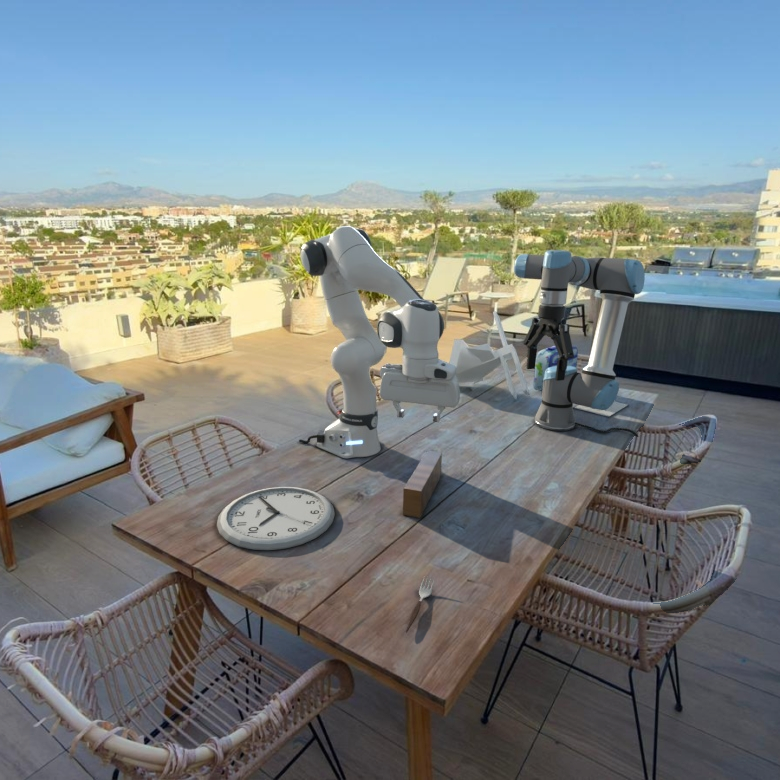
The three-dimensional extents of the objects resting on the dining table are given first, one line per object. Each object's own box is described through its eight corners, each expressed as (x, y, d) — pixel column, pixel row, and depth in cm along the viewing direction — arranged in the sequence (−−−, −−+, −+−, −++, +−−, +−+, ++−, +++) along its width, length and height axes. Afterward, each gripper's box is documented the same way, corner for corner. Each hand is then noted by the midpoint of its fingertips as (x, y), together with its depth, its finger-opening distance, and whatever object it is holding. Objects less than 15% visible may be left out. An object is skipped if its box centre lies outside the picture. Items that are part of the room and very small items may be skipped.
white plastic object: (461, 429, 252) (437, 405, 227) (444, 352, 274) (420, 323, 250) (535, 404, 240) (518, 377, 215) (510, 326, 262) (492, 293, 237)
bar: (425, 473, 162) (426, 450, 160) (440, 476, 161) (442, 452, 158) (402, 514, 139) (403, 488, 136) (420, 518, 137) (421, 491, 135)
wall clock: (333, 542, 123) (202, 546, 121) (333, 547, 124) (203, 552, 121) (335, 482, 152) (229, 485, 149) (335, 487, 152) (230, 490, 150)
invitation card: (608, 416, 214) (573, 407, 224) (608, 416, 214) (573, 408, 224) (628, 404, 229) (594, 396, 238) (628, 405, 229) (594, 397, 238)
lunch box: (550, 397, 237) (555, 352, 231) (529, 391, 245) (533, 348, 238) (577, 386, 255) (582, 344, 249) (556, 381, 262) (561, 340, 256)
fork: (399, 632, 98) (399, 624, 98) (423, 581, 112) (424, 573, 112) (412, 636, 97) (413, 627, 97) (435, 584, 112) (435, 576, 111)
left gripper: (376, 365, 129) (375, 418, 134) (457, 373, 124) (454, 428, 128) (384, 360, 135) (383, 410, 139) (462, 367, 129) (459, 419, 134)
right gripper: (516, 299, 163) (510, 365, 170) (571, 311, 141) (562, 386, 148) (535, 298, 166) (529, 363, 172) (593, 310, 144) (583, 384, 151)
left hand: (418, 419), depth 134 cm, fingers open, 8 cm apart
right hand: (544, 374), depth 160 cm, fingers open, 13 cm apart
